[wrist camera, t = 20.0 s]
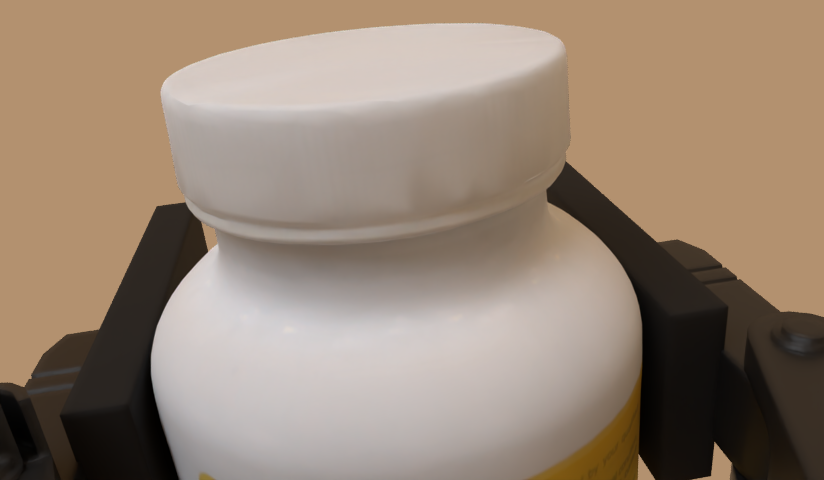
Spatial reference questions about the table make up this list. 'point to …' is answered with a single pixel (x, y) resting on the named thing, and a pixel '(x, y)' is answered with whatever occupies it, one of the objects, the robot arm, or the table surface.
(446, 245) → the pill bottle
